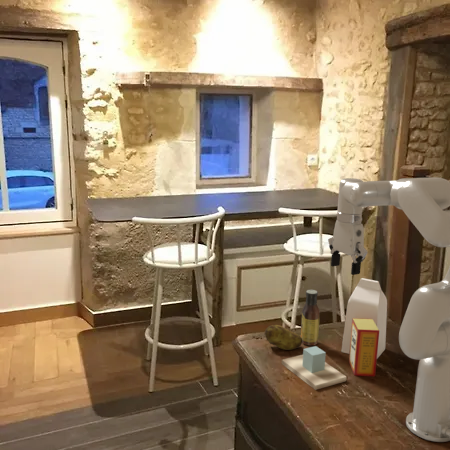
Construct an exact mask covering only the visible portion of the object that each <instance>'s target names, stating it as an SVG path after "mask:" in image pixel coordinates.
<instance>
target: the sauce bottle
mask: <svg viewBox="0 0 450 450" xmlns="http://www.w3.org/2000/svg"><path fill="white" fill-rule="evenodd" d="M305 297H306V299H305V303H304V306H303V308H302V310H301V322H300V323H301V325H300V327H301V329H300V337H301V338H302V345H305V346H309V347H314V346H316V345H317V344H318V340H319V331H320V330H319V329H320V308H319V305H318V304H317V303H318V302H317V301H318V291H317V290H315V289H307V290H306V292H305Z"/></svg>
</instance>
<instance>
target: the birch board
mask: <svg viewBox="0 0 450 450" xmlns="http://www.w3.org/2000/svg"><path fill="white" fill-rule="evenodd" d="M281 365H283V366H284V367H285V368H286V369H288V371H291V372H292V373H293V374H294V375H295V376H297V377H298V378H299V379H300V380H302V381H303V382H304V383H306V384H307V385H308V386H310V387H311V388H312V389H314V391H316V390H320V389H323V388H327V387H330V386H333V385H337V384H340V383H344V382H347V376H346V375H345V374H343V373H341V372H340V371H339V370H338V369H336V368H334V367H333V366H331V365H330V364H328V363H327V362H326V361H325V370H322V371H318V372H314V373H311V372H310V371H308V370H307V369H306V368H304V367H303V366H302V365H303V354H300V355H296V356H292V357H288V358H284V359H281Z"/></svg>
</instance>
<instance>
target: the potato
mask: <svg viewBox="0 0 450 450" xmlns="http://www.w3.org/2000/svg"><path fill="white" fill-rule="evenodd" d="M264 336H265V339H266V341H267V342H268V343H269V344H271V345H273V346H275V347H277V348H279V349H281V350H285V351H286V350H287V351H288V350H289V351H290V350H295V349H297V348H300V347H301V345H303V343H302V338H301V335H299V334H298V333H296V332H294V331H291V330H289V329H288V328H286V327H284V326H282V325H279V324H272V325H269V326H268V327H266V329H265V330H264Z"/></svg>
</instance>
